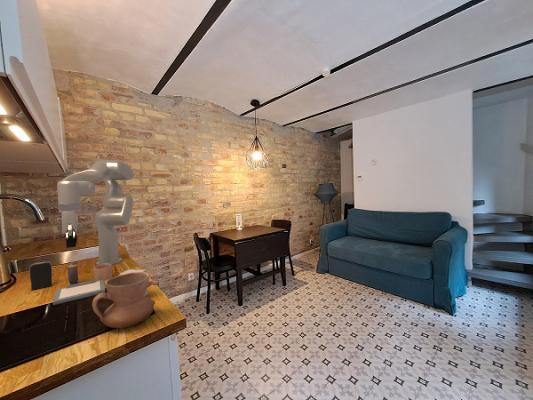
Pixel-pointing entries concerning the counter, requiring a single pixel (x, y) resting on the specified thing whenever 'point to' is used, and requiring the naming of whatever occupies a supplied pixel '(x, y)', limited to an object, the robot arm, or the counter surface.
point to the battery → (40, 275)
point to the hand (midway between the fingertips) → (72, 245)
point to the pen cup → (103, 272)
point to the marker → (73, 272)
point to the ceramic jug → (126, 300)
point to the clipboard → (79, 291)
